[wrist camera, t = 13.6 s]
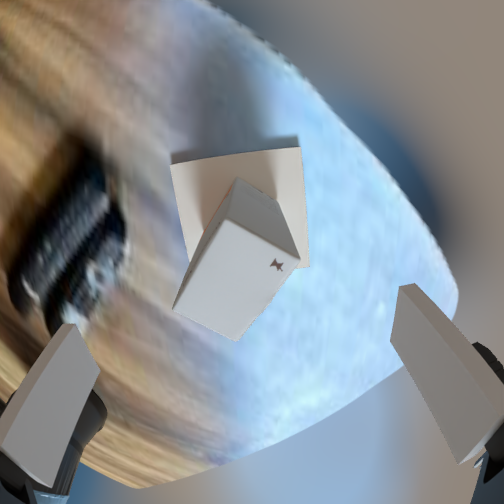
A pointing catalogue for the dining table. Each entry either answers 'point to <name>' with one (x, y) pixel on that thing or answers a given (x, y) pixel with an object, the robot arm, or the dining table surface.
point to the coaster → (251, 171)
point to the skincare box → (238, 263)
